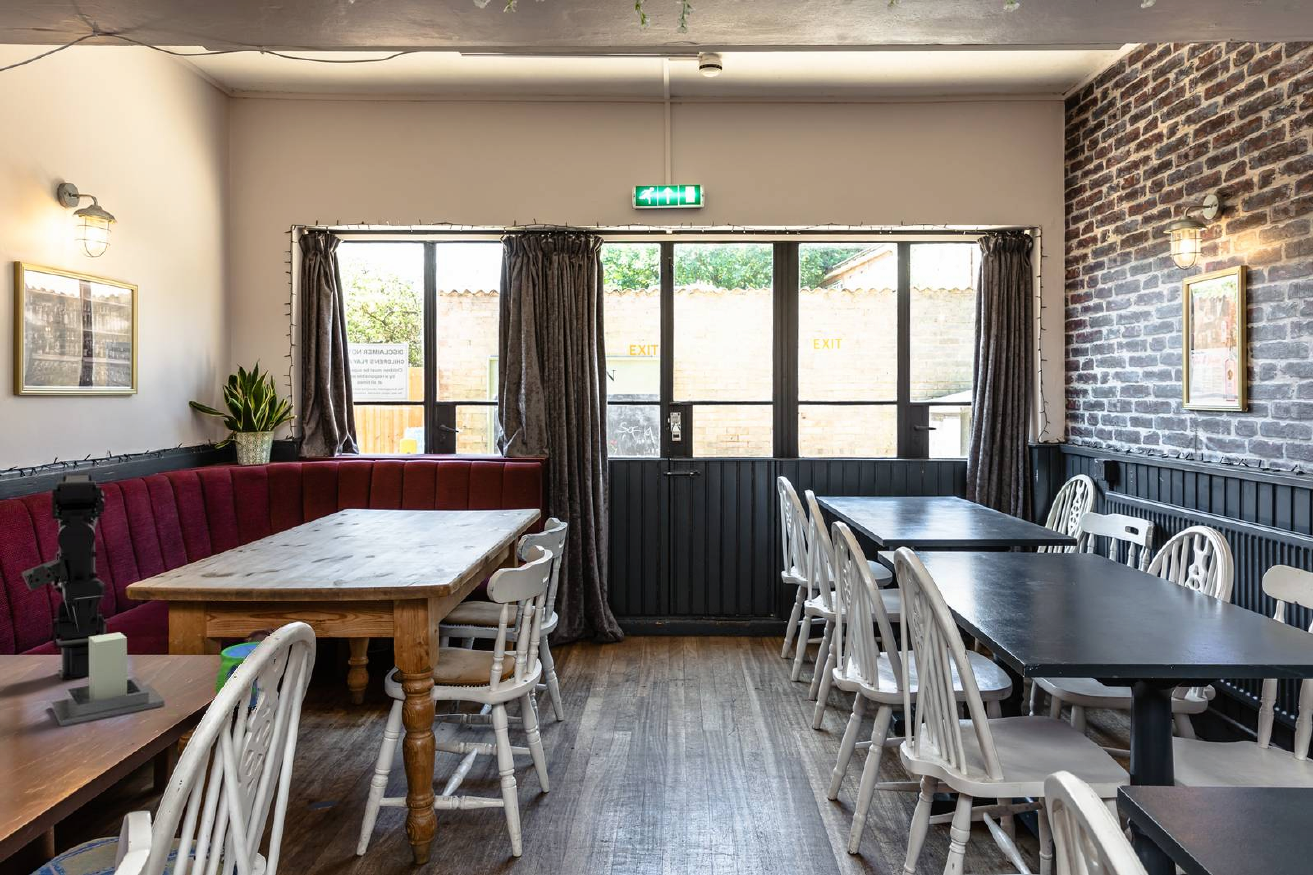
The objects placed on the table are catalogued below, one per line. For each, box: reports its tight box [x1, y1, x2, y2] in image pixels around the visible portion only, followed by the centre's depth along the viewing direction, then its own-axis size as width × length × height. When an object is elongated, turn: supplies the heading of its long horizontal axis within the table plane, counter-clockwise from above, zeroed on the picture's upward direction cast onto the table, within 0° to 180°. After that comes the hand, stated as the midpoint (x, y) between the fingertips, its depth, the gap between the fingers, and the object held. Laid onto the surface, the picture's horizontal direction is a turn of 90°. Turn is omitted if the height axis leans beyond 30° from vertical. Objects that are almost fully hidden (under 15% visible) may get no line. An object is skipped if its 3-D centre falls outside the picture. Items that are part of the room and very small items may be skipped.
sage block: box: [88, 631, 128, 701], centre depth 158 cm, size 5×5×12 cm
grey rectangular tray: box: [50, 677, 166, 727], centre depth 158 cm, size 12×16×3 cm
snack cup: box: [215, 642, 261, 708], centre depth 161 cm, size 16×10×10 cm
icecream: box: [242, 626, 276, 644], centre depth 188 cm, size 7×7×15 cm
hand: (77, 626), depth 164 cm, fingers open, 9 cm apart
